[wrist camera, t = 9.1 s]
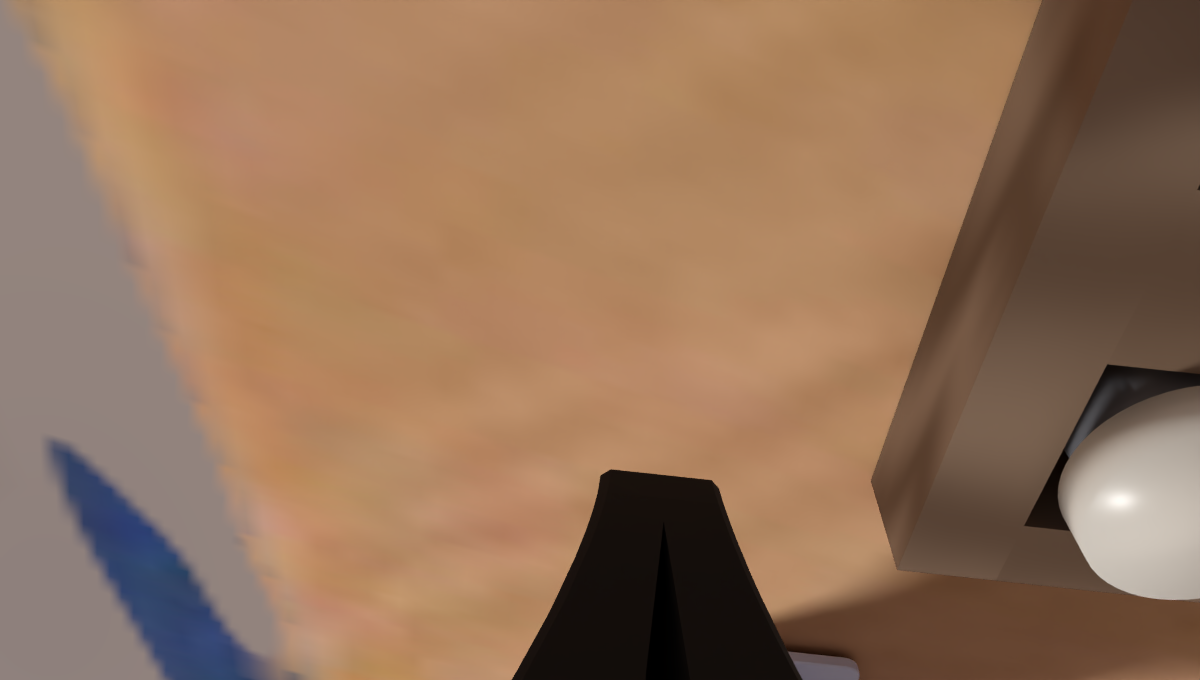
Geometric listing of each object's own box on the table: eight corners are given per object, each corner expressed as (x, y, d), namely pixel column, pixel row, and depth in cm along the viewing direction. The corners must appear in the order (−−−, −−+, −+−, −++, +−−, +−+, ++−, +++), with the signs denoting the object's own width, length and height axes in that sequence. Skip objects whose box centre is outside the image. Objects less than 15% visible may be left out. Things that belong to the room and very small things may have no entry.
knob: (1163, 466, 21) (1269, 611, 17) (978, 446, 21) (1045, 587, 17) (1258, 309, 18) (1408, 440, 15) (1048, 287, 18) (1144, 411, 15)
